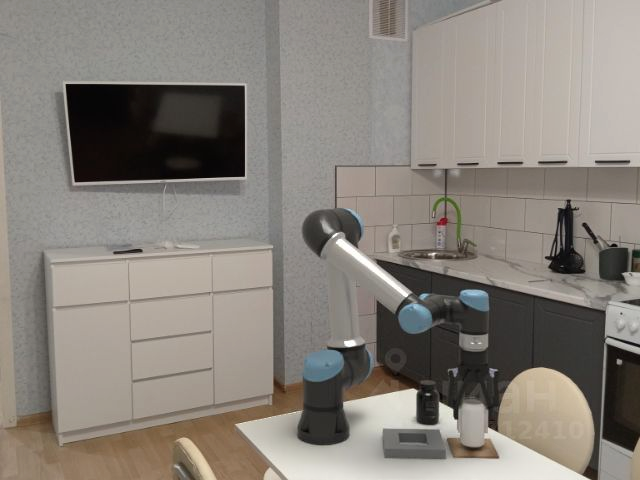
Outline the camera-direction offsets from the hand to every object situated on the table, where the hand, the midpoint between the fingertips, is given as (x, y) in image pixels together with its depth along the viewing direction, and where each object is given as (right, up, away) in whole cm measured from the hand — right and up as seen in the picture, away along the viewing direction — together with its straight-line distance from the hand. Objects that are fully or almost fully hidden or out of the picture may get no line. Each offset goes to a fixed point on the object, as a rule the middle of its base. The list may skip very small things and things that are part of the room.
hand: (472, 431), depth 177 cm
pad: (0, -5, 0) cm, 5 cm away
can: (0, -4, 0) cm, 4 cm away
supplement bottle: (-9, -3, +21) cm, 23 cm away
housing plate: (-16, -5, +1) cm, 17 cm away
